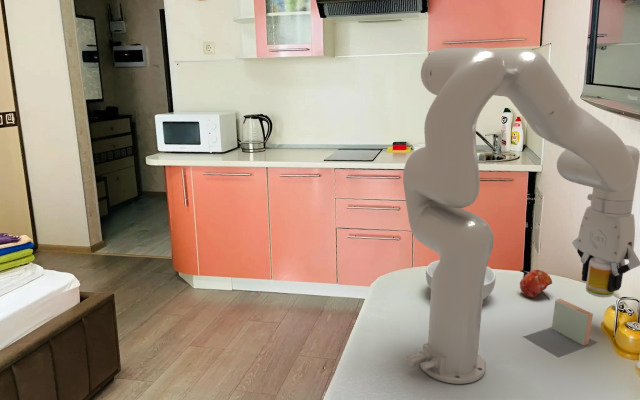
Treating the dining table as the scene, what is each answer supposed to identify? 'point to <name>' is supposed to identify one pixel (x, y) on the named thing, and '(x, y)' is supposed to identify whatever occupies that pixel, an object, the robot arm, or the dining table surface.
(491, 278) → the cereal bowl
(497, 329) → the dining table surface
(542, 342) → the rubber mat
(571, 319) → the tile
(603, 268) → the supplement bottle
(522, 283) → the pomegranate
